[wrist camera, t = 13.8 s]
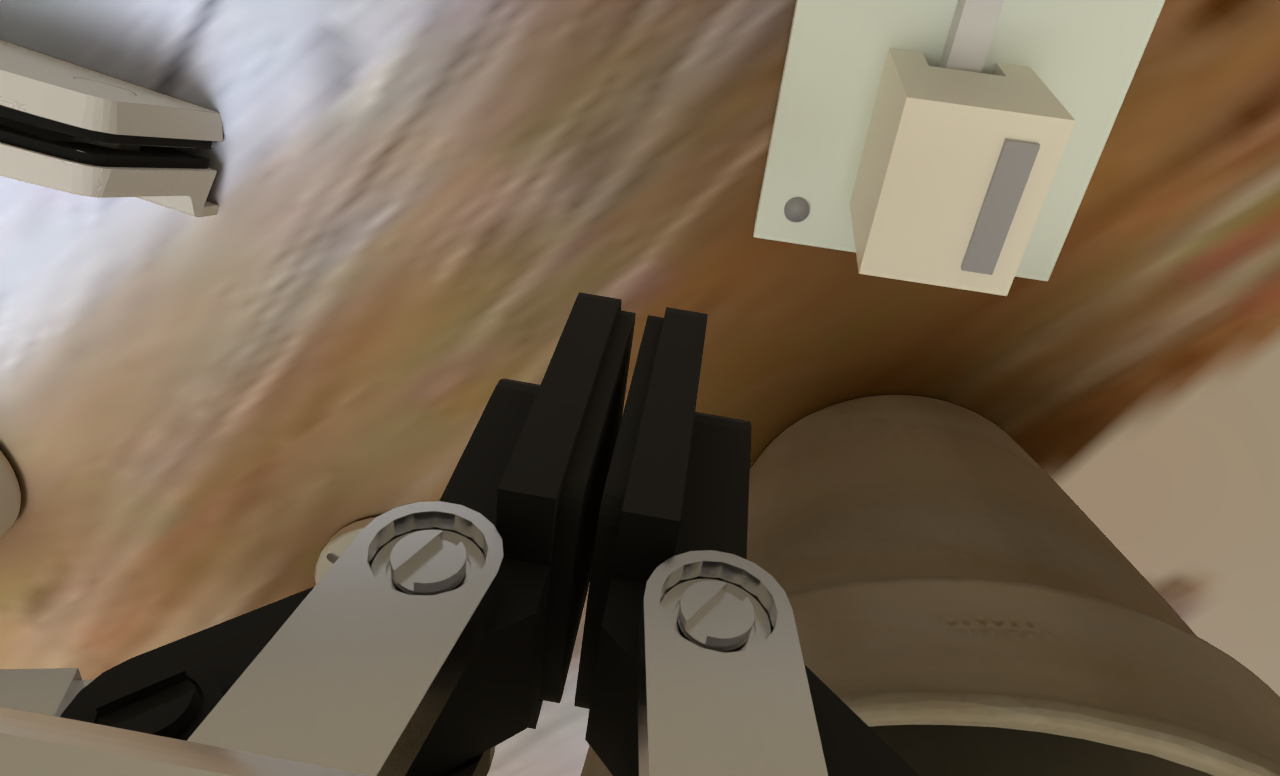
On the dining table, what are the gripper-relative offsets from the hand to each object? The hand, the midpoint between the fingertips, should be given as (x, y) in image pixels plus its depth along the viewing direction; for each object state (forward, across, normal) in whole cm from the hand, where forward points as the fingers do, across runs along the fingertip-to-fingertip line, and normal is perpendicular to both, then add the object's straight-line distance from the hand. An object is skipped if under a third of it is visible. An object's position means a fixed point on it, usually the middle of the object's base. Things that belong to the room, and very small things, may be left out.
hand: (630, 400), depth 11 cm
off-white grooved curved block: (+26, +29, +6) cm, 40 cm away
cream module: (+24, -9, +2) cm, 26 cm away
